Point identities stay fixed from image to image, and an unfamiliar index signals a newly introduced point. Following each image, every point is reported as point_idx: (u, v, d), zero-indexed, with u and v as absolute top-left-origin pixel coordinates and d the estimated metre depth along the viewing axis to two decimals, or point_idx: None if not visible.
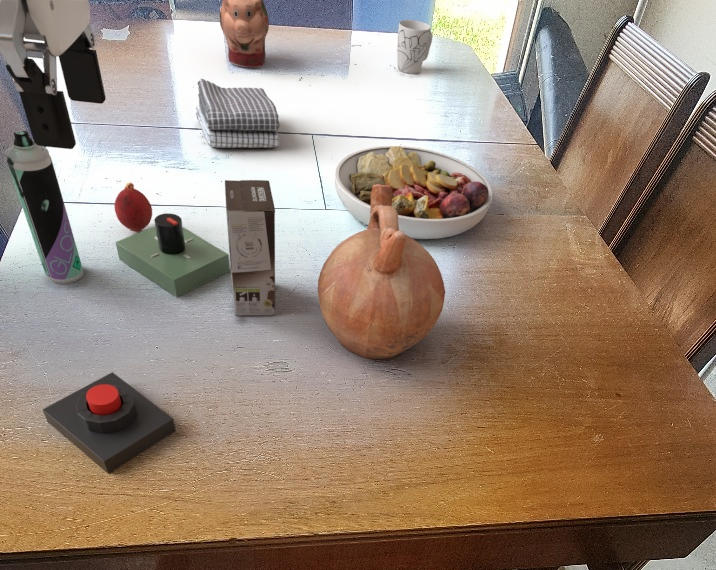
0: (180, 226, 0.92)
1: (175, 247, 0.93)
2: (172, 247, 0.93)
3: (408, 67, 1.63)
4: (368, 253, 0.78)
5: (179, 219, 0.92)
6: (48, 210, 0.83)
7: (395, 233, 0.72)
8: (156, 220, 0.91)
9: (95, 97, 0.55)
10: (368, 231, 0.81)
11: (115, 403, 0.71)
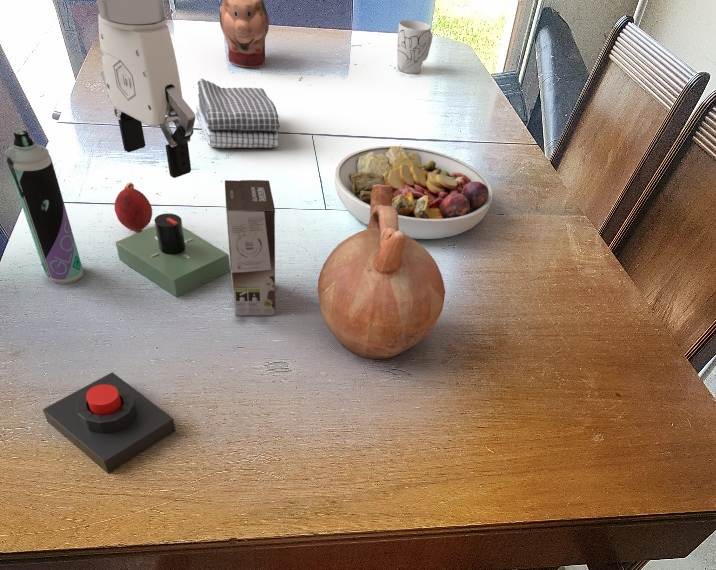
0: (180, 226, 0.92)
1: (175, 247, 0.93)
2: (172, 247, 0.93)
3: (408, 67, 1.63)
4: (368, 253, 0.78)
5: (179, 219, 0.92)
6: (48, 210, 0.83)
7: (395, 233, 0.72)
8: (156, 220, 0.91)
9: (141, 144, 0.85)
10: (368, 231, 0.81)
11: (115, 403, 0.71)
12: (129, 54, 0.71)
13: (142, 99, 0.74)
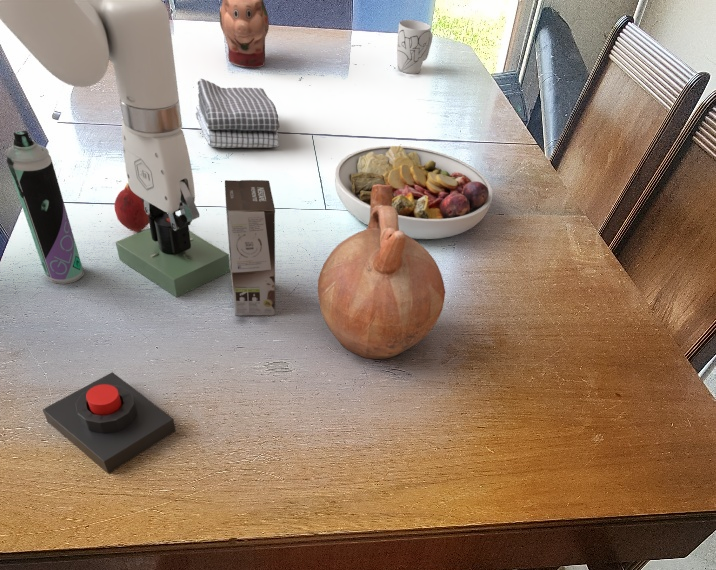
0: None
1: None
2: None
3: (408, 67, 1.63)
4: (368, 253, 0.78)
5: None
6: (48, 210, 0.83)
7: (395, 233, 0.72)
8: (156, 220, 0.91)
9: None
10: (368, 231, 0.81)
11: (115, 403, 0.71)
12: (149, 155, 0.81)
13: (159, 191, 0.84)
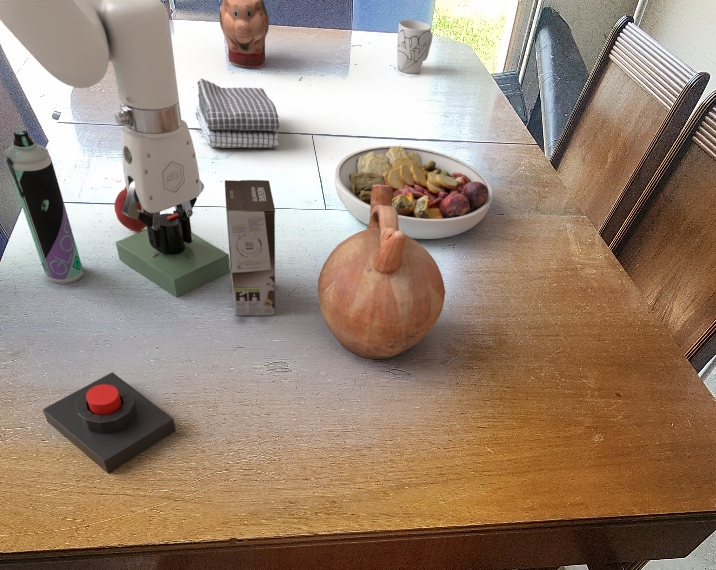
0: None
1: None
2: None
3: (408, 67, 1.63)
4: (368, 253, 0.78)
5: (168, 213, 0.93)
6: (48, 210, 0.83)
7: (395, 233, 0.72)
8: (169, 225, 0.91)
9: None
10: (368, 231, 0.81)
11: (115, 403, 0.71)
12: (180, 149, 0.84)
13: (190, 179, 0.88)
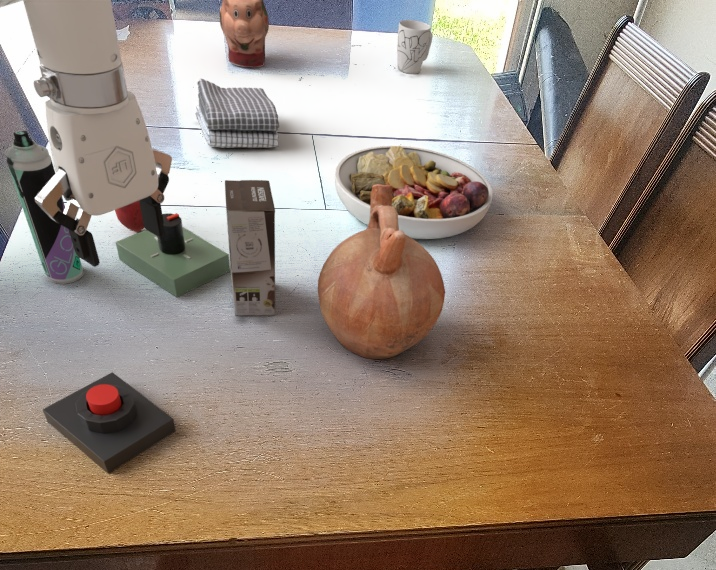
0: None
1: None
2: None
3: (408, 67, 1.63)
4: (368, 253, 0.78)
5: (167, 214, 0.93)
6: None
7: (395, 233, 0.72)
8: (169, 225, 0.91)
9: None
10: (368, 231, 0.81)
11: (115, 403, 0.71)
12: (128, 129, 0.63)
13: (144, 170, 0.67)
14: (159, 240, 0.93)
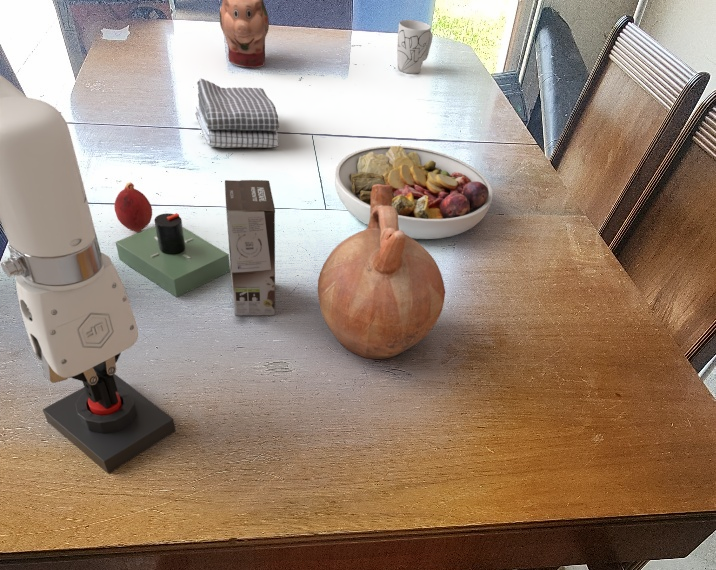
0: None
1: None
2: None
3: (408, 67, 1.63)
4: (368, 253, 0.78)
5: (167, 214, 0.93)
6: None
7: (395, 233, 0.72)
8: (169, 225, 0.91)
9: None
10: (368, 231, 0.81)
11: (117, 408, 0.72)
12: (103, 295, 0.60)
13: (122, 327, 0.64)
14: (159, 240, 0.93)
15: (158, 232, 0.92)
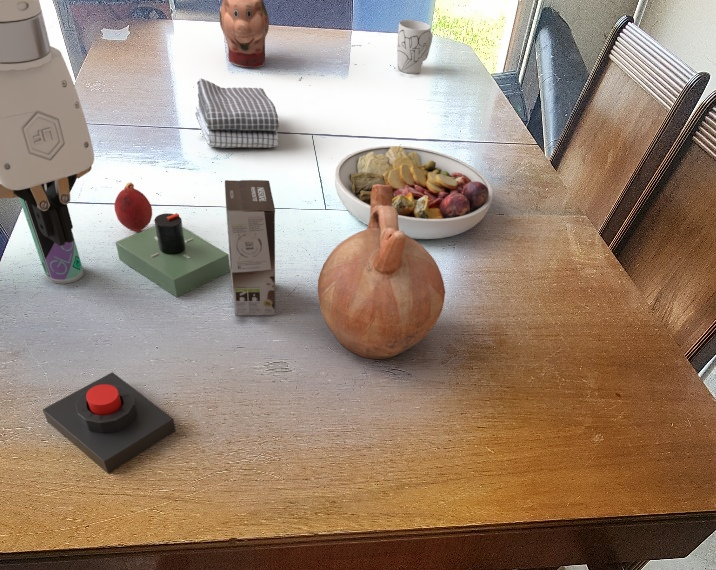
0: None
1: None
2: None
3: (408, 67, 1.63)
4: (368, 253, 0.78)
5: (167, 214, 0.93)
6: None
7: (395, 233, 0.72)
8: (169, 225, 0.91)
9: None
10: (368, 231, 0.81)
11: (115, 403, 0.71)
12: (52, 92, 0.55)
13: (75, 141, 0.59)
14: (159, 240, 0.93)
15: (158, 232, 0.92)
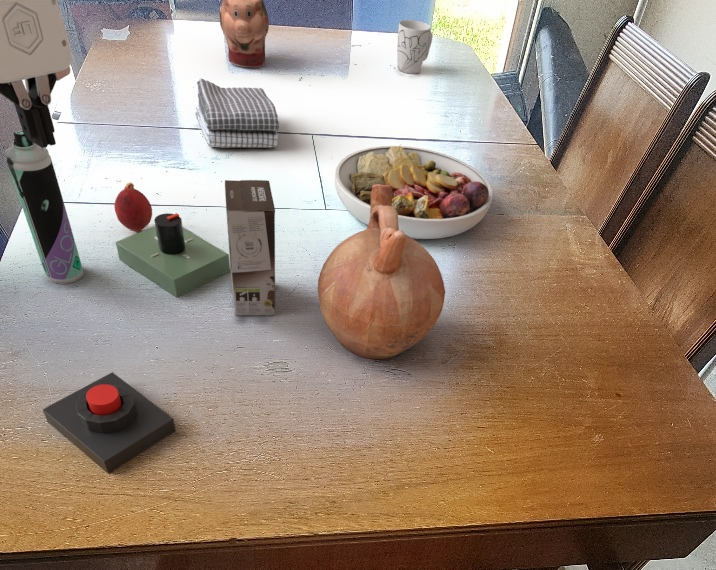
0: None
1: None
2: None
3: (408, 67, 1.63)
4: (368, 253, 0.78)
5: (167, 214, 0.93)
6: (48, 210, 0.83)
7: (395, 233, 0.72)
8: (169, 225, 0.91)
9: None
10: (368, 231, 0.81)
11: (115, 403, 0.71)
12: None
13: (53, 38, 0.63)
14: (159, 240, 0.93)
15: (158, 232, 0.92)
